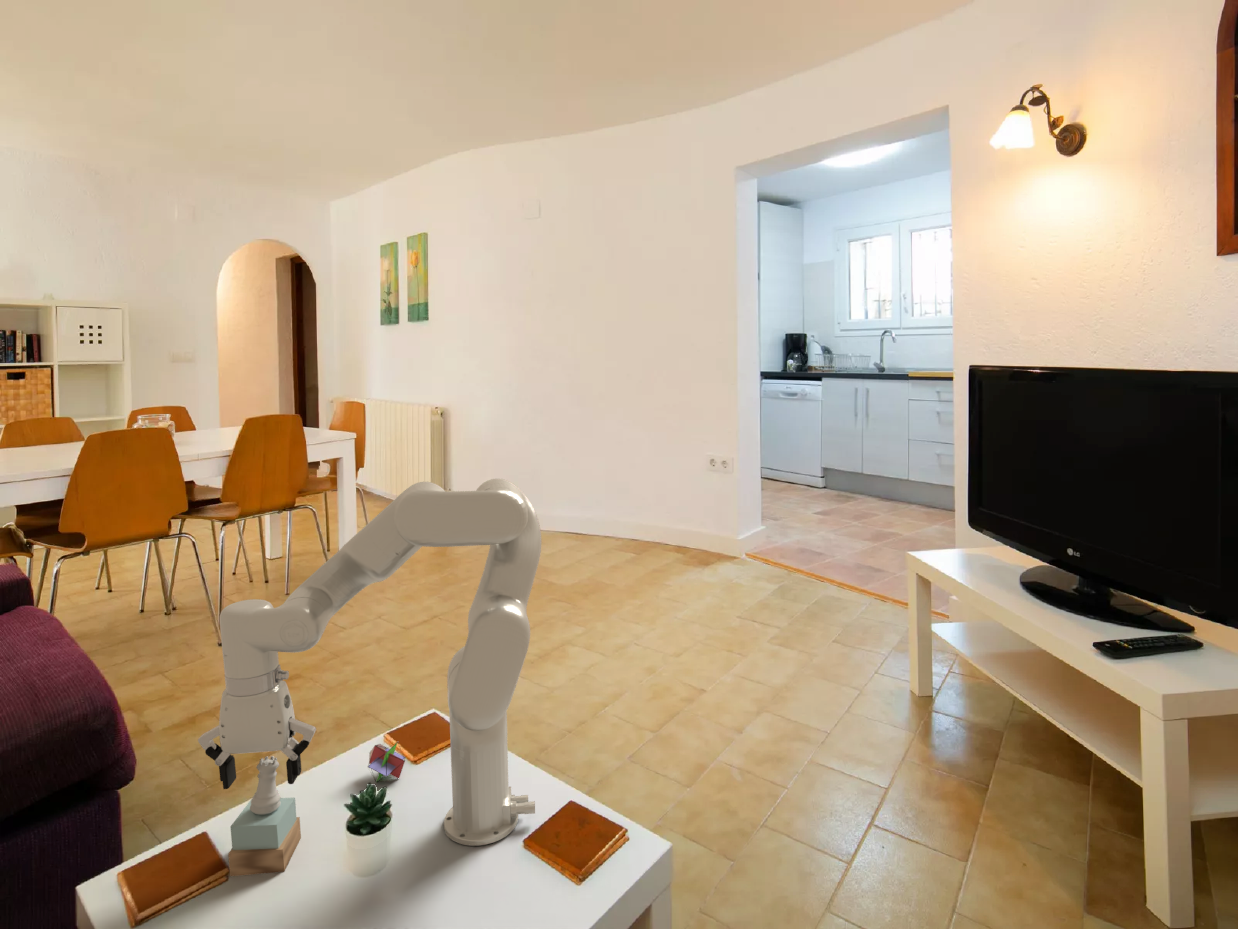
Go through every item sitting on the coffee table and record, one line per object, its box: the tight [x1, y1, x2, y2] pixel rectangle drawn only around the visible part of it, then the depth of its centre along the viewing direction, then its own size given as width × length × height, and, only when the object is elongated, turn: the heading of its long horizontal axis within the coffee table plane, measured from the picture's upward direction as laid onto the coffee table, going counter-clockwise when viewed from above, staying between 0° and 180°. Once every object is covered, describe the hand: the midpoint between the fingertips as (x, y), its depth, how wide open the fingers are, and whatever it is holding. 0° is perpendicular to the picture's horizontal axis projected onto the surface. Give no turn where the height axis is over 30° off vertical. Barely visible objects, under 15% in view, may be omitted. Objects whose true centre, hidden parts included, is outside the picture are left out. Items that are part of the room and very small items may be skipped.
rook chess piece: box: [250, 755, 282, 815], centre depth 112 cm, size 4×4×8 cm
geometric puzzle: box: [367, 741, 406, 783], centre depth 134 cm, size 7×7×8 cm
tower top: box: [230, 797, 297, 850], centre depth 112 cm, size 7×7×4 cm
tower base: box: [228, 816, 302, 877], centre depth 112 cm, size 8×8×4 cm
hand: (262, 781), depth 111 cm, fingers open, 9 cm apart
